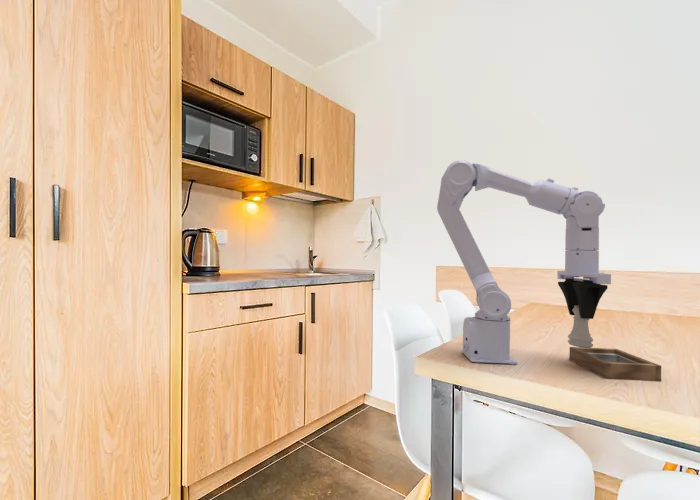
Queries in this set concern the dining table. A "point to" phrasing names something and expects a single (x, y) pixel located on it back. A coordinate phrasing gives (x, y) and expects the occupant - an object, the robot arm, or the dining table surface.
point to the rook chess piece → (580, 331)
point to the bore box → (615, 364)
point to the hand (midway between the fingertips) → (581, 316)
